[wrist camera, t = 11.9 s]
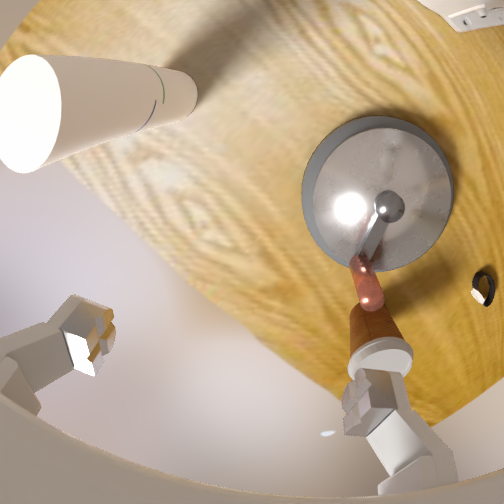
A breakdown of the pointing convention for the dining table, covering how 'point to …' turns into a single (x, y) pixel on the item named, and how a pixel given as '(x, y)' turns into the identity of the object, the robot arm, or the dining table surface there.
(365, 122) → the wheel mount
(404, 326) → the dining table surface
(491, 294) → the watch
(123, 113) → the cylindrical container
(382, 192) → the handwheel
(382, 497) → the robot arm
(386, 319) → the disposable coffee cup
